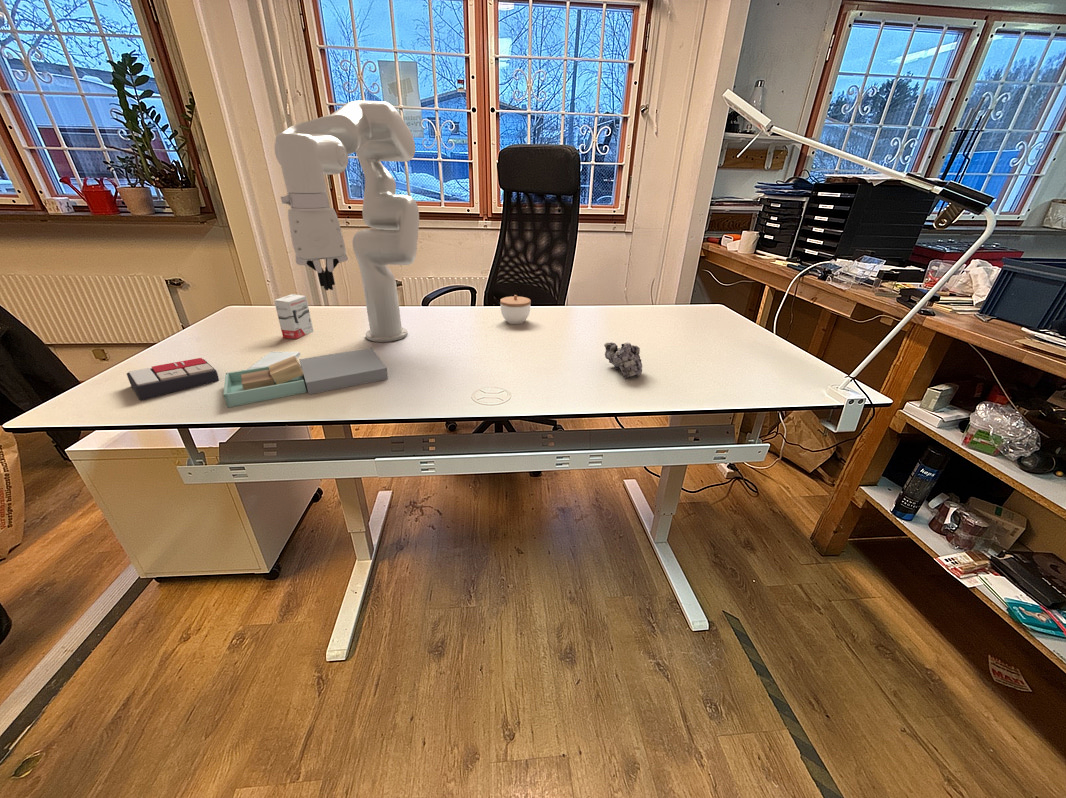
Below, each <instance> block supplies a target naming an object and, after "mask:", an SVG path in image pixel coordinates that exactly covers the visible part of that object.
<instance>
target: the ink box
mask: <svg viewBox="0 0 1066 798" xmlns="http://www.w3.org/2000/svg"><path fill="white" fill-rule="evenodd" d="M274 306H275V311H276V313H277V317H278V318H277V319H278V323H279V327H280V330H281V334H282V338H283V339H290V340H291V339H292V340H297V339H301V338H302V337H304V336H306V335H308V334H310V333H312V332H314V327H313V323H312V318H311V314H310V312H311V311H310V309H309V304H308V297H307V296H306V295H302V294H301V295H300V294H294V293H291V294H288V295H285V296H282V297H279V298H277V299H275V300H274Z"/></svg>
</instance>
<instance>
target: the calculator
mask: <svg viewBox="0 0 1066 798" xmlns="http://www.w3.org/2000/svg"><path fill="white" fill-rule="evenodd" d="M126 376H127V380H128V382H129V384H130V387H131V388H132V390H133V392H134V393H135V394H136V396H137V398H138V400H139V401H147V400H150V399H154V398H157V397H162V396H165V395H166V394H170V393H174V392H179V391H183V390H188V389H192V388H195V387H200V386H203V385H204V384H205V385H209V384H213V383H215V382H219V381H220V378H219V375H218V371H217V370H216V369H215V368H214V367H213V366H212V365H211V364H210V363H209V362H208V361H207V360H206V359H204V358H203V357H198V358H193V359H192V358H191V359H188V360H187V359H186V360H181V361H176V362H170V363H165V364H159V365H158V364H157V365H153V366H151V368H150V367H147V368H141V369H134V370H130V371H128V372H126ZM212 382H213V383H212Z"/></svg>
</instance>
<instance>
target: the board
mask: <svg viewBox="0 0 1066 798" xmlns="http://www.w3.org/2000/svg"><path fill="white" fill-rule="evenodd" d="M298 362H299V364H300V366H301V368H302V371H303V374H304V375H302V377H303V380H304V384H305V387H306V391H307V393H308V395H314V394H318V393H323V392H330V391H333V390H334V391H335V390H338V389H344V388H350V387H354V386H360V385H364V384H368V383H369V384H371V383H374V382H379V381H380V382H381V381H384V380H388V379H389V376H388V371H387V369H388V368H387V367H386V366H385V364H384V362H383V361H382V359H381V358H380V357H379V356H378V354H377V353H376V352H375V350H374V349H373V348H372V347H369V348H363V349H355V350H348V351H343V352H337V353H332V354H331V353H330V354H329V353H328V354H325V355H324V354H323V355H317V356H312V357H306V358H299V361H298Z"/></svg>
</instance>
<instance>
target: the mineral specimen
mask: <svg viewBox="0 0 1066 798" xmlns="http://www.w3.org/2000/svg"><path fill="white" fill-rule="evenodd" d="M603 346H604V347H605V352H604V356H605V357H604V358H605V359H607V360H608V362H609V363H610V364H611V365H613V366H614V369H616V370H619V371H620V373H621V374H622V377H623V379H624V380H626V379H628V378H629V377H635V376H641V375H642V373H643V363H642V359H641V356H640V354H641V353H640V352H641V348H640V347H639V346H638V345H633V344H631V343H630V342H628V341H627V342H623V343H621V347H618V344H616V343H615V342H606V343H604V344H603Z"/></svg>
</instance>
